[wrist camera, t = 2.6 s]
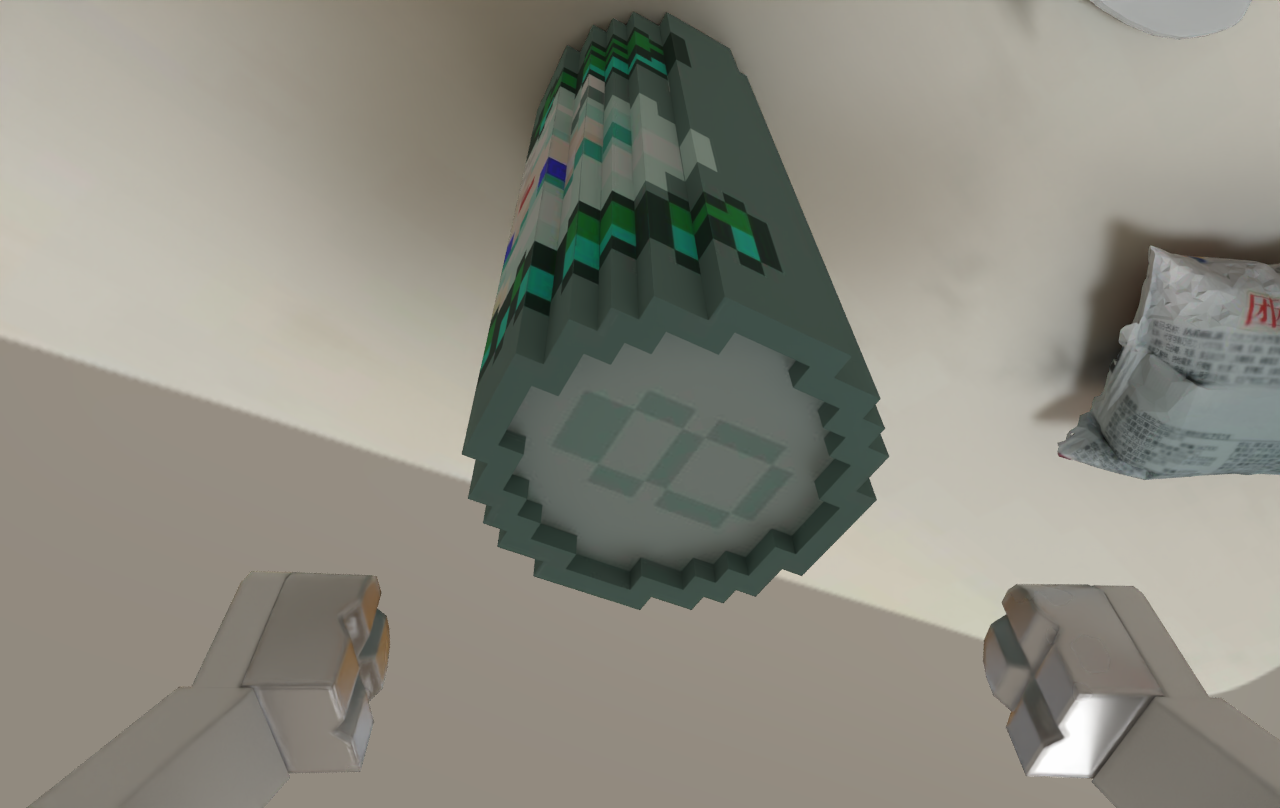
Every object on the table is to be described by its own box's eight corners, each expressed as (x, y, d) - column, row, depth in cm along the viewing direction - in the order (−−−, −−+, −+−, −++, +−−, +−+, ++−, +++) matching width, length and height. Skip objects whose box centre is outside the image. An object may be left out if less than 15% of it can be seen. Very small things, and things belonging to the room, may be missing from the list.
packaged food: (1112, 211, 26) (1198, 293, 22) (1475, 209, 26) (1620, 289, 23) (1029, 419, 32) (1086, 513, 28) (1329, 416, 32) (1427, 508, 28)
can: (599, -27, 22) (581, 229, 10) (789, 83, 24) (965, 409, 12) (510, 169, 25) (416, 539, 13) (683, 253, 27) (737, 641, 15)
